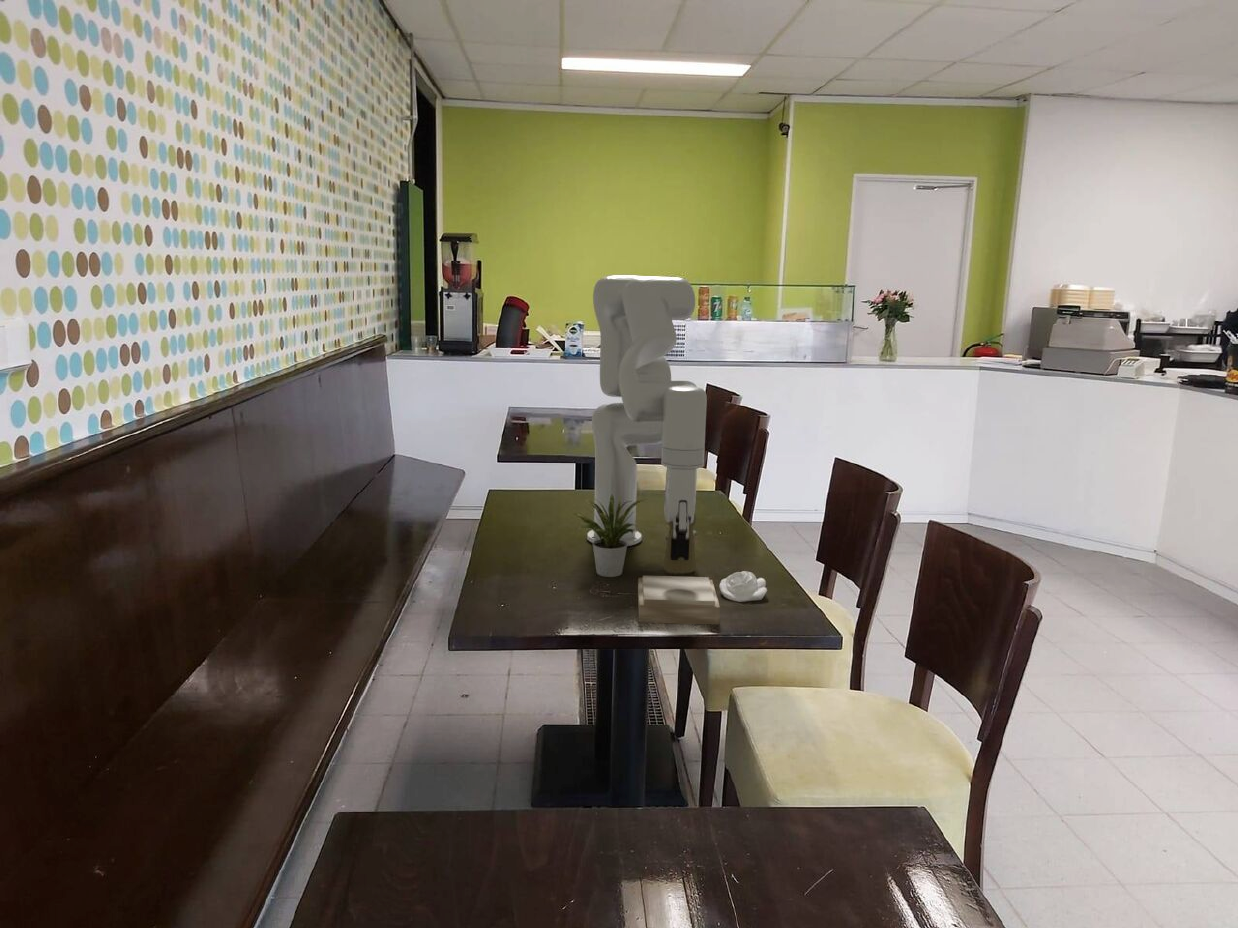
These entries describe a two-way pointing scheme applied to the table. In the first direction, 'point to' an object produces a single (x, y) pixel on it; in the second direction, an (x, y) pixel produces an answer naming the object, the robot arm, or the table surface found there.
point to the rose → (743, 587)
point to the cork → (680, 564)
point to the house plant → (609, 538)
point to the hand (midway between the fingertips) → (678, 555)
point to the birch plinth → (677, 600)
